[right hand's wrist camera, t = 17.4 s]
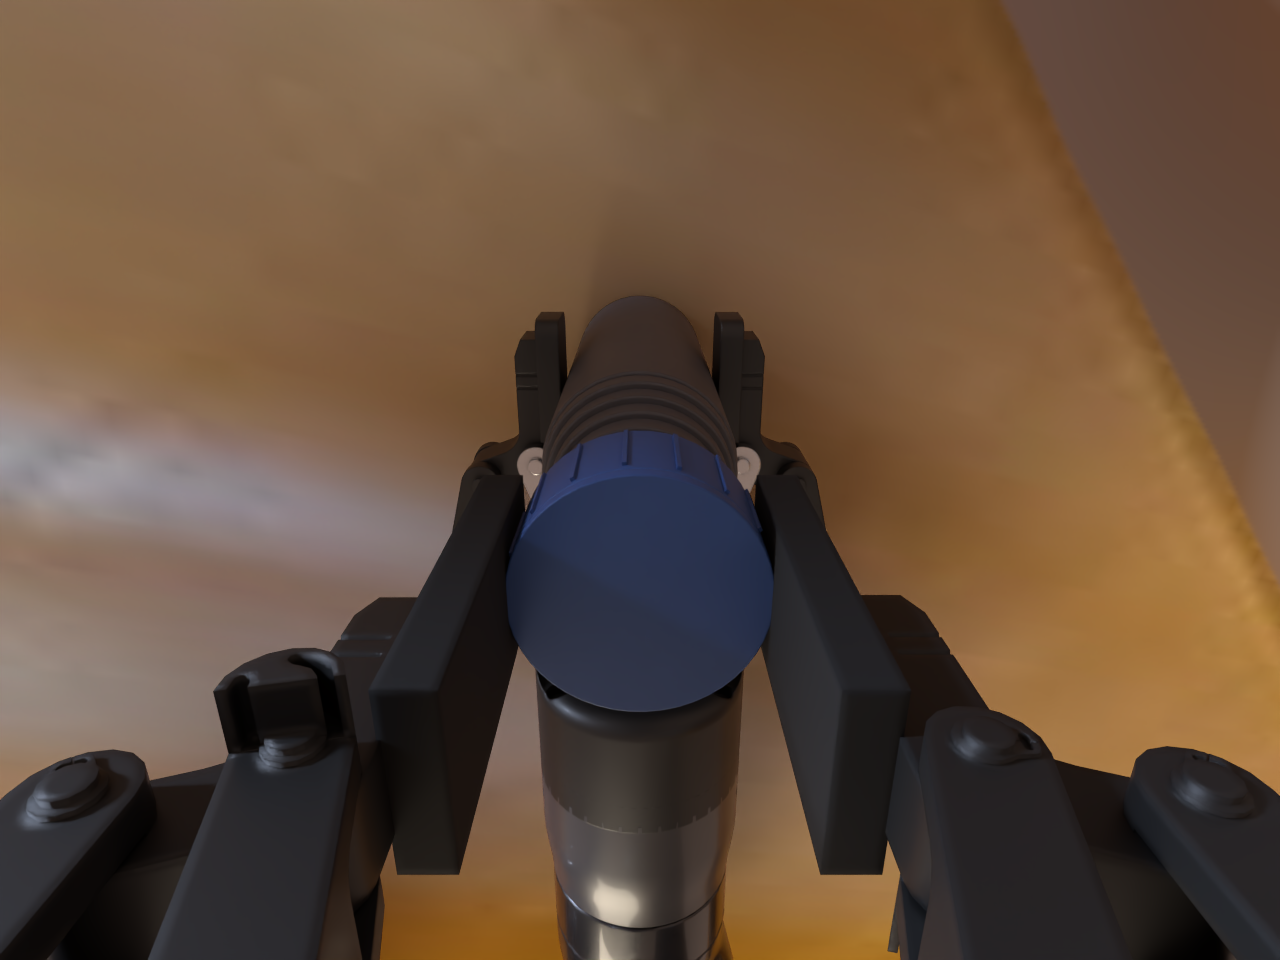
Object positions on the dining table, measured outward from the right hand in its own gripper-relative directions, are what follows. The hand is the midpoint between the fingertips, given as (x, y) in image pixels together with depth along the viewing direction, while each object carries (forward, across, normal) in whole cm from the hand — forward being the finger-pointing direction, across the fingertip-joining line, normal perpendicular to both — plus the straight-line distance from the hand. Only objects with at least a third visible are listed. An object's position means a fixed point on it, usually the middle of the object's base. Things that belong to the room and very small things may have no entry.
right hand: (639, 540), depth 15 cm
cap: (-2, 0, 0) cm, 2 cm away
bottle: (+17, 0, 0) cm, 17 cm away
